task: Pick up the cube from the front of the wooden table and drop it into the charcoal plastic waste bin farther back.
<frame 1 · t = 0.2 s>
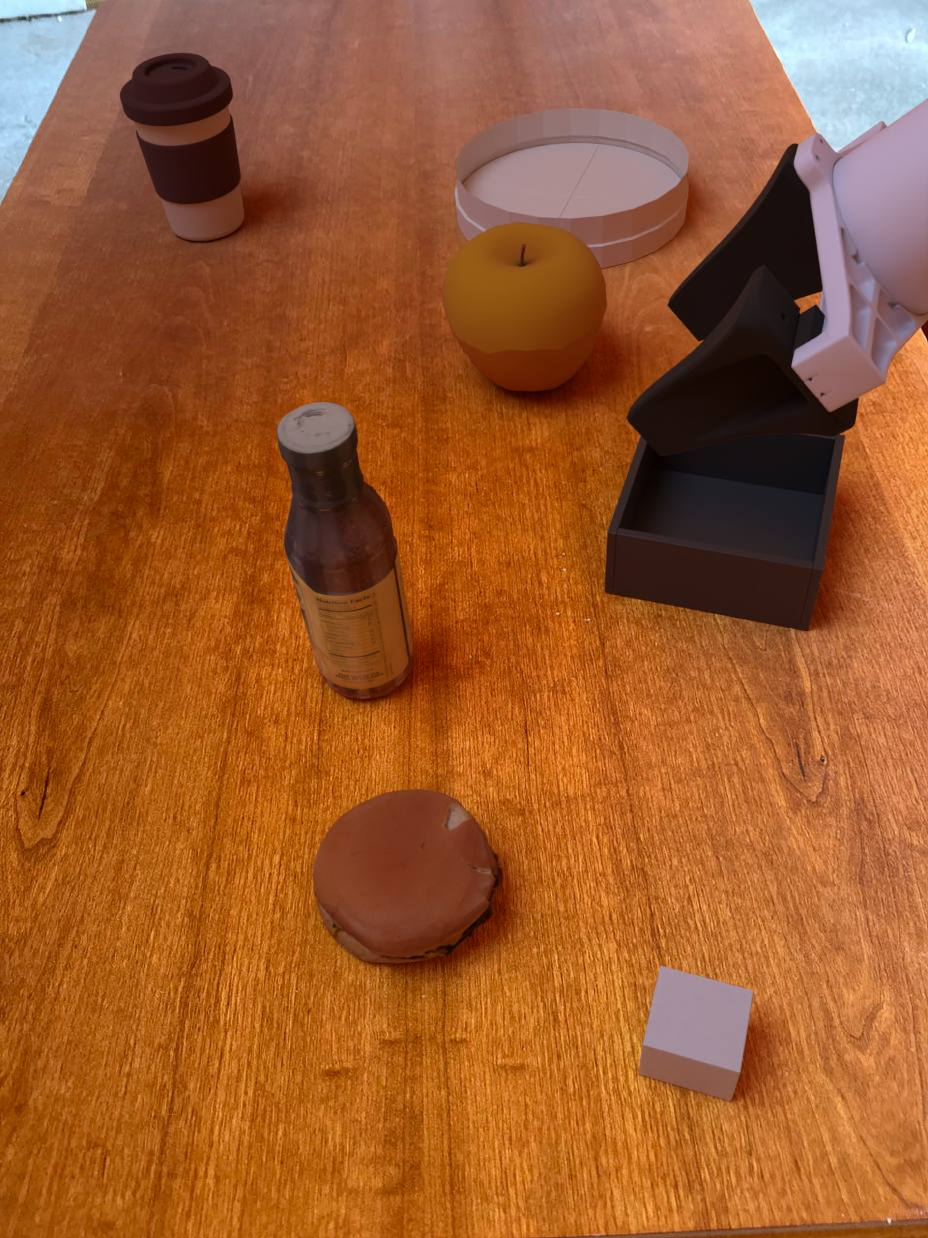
hand: (665, 372, 43), 29 cm above the table, tool tilted 45°, fingers open, 7 cm apart
cube: (692, 1048, 55), on the table
bin: (721, 542, 78), on the table
coffee cup: (208, 226, 112), on the table
sauce bottle: (367, 671, 72), on the table
apple: (525, 372, 93), on the table
dish: (570, 211, 110), on the table
chocolate glazed sandwich cookie: (410, 894, 62), on the table
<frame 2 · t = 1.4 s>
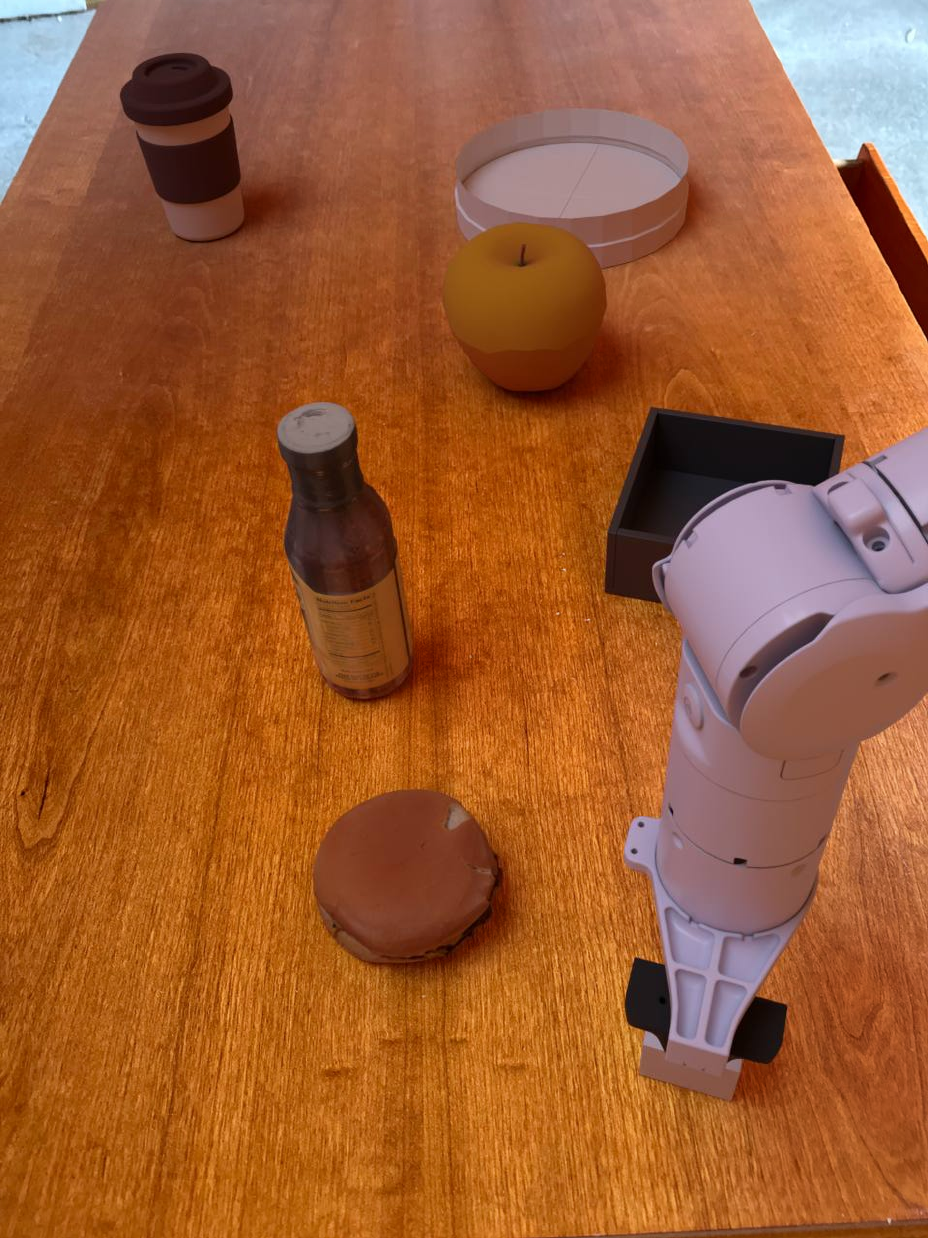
hand: (709, 971, 49), 8 cm above the table, tool pointing down, fingers open, 7 cm apart
nothing on the table moved.
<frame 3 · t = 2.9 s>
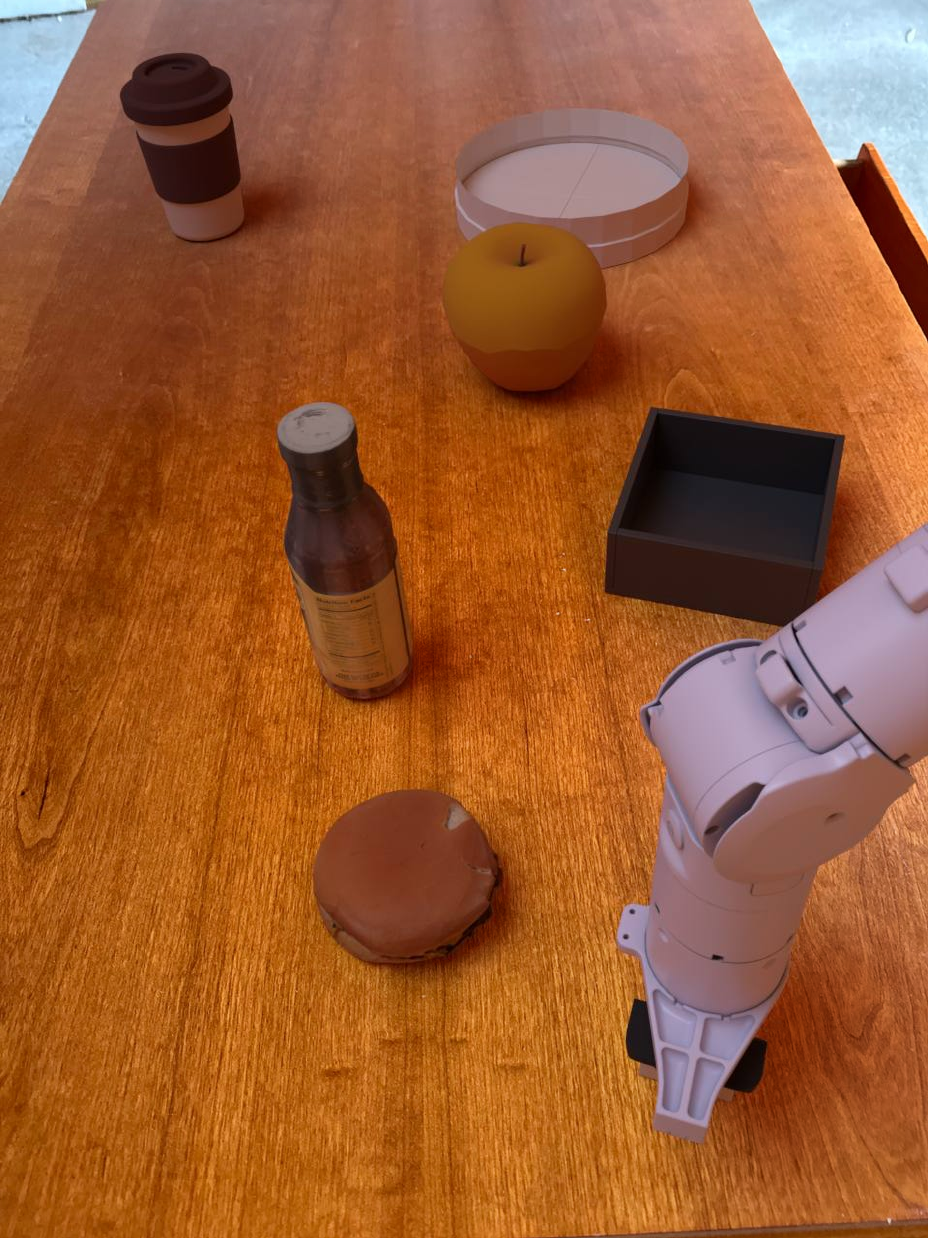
hand: (694, 1036, 54), 1 cm above the table, tool pointing down, fingers closed on cube, 4 cm apart
cube: (691, 1048, 55), on the table, touching gripper
everything else where it was.
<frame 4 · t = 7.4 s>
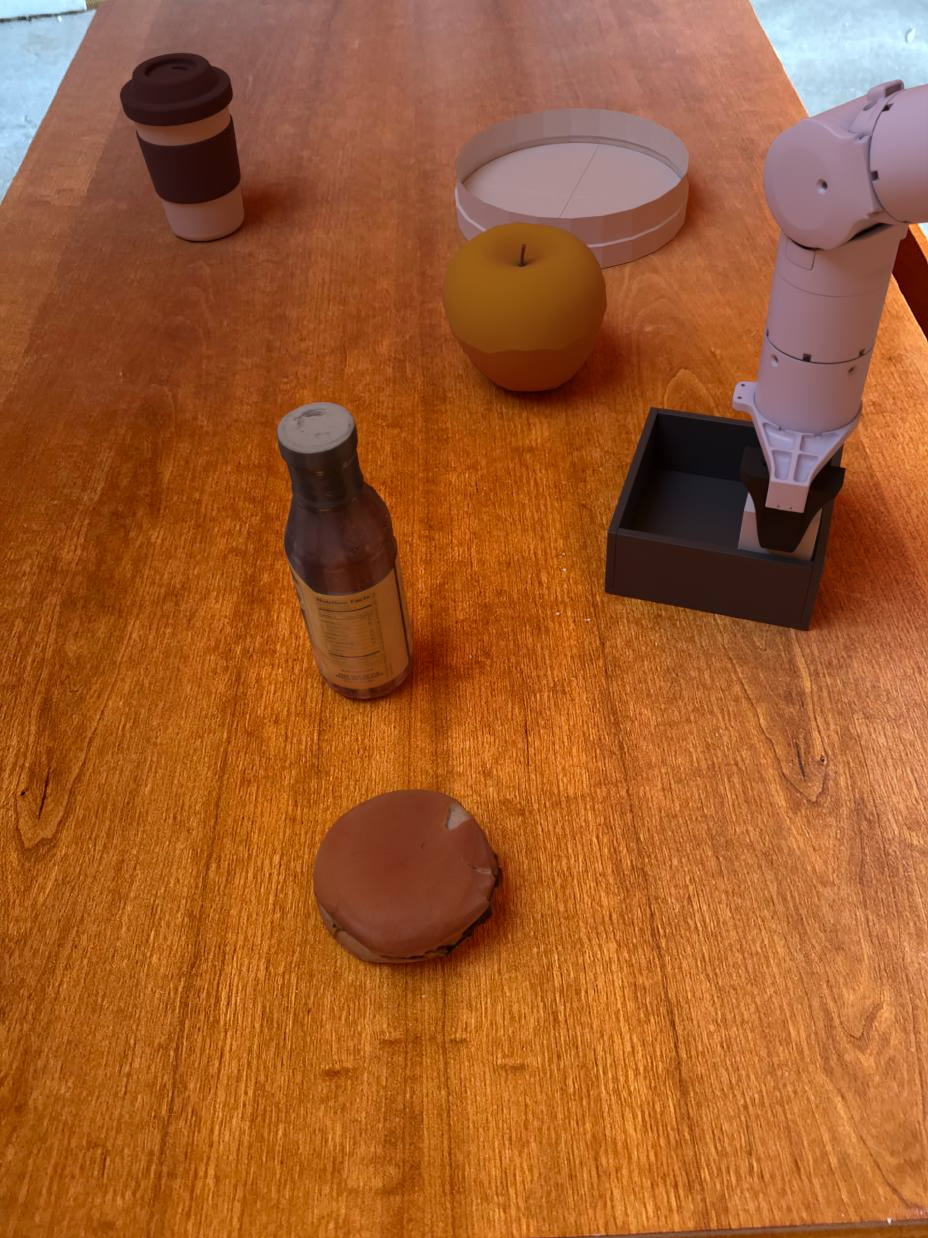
hand: (782, 521, 71), 6 cm above the table, tool pointing down, fingers closed on cube, 4 cm apart
cube: (777, 538, 72), point 5 cm above the table, touching gripper
everything else where it was.
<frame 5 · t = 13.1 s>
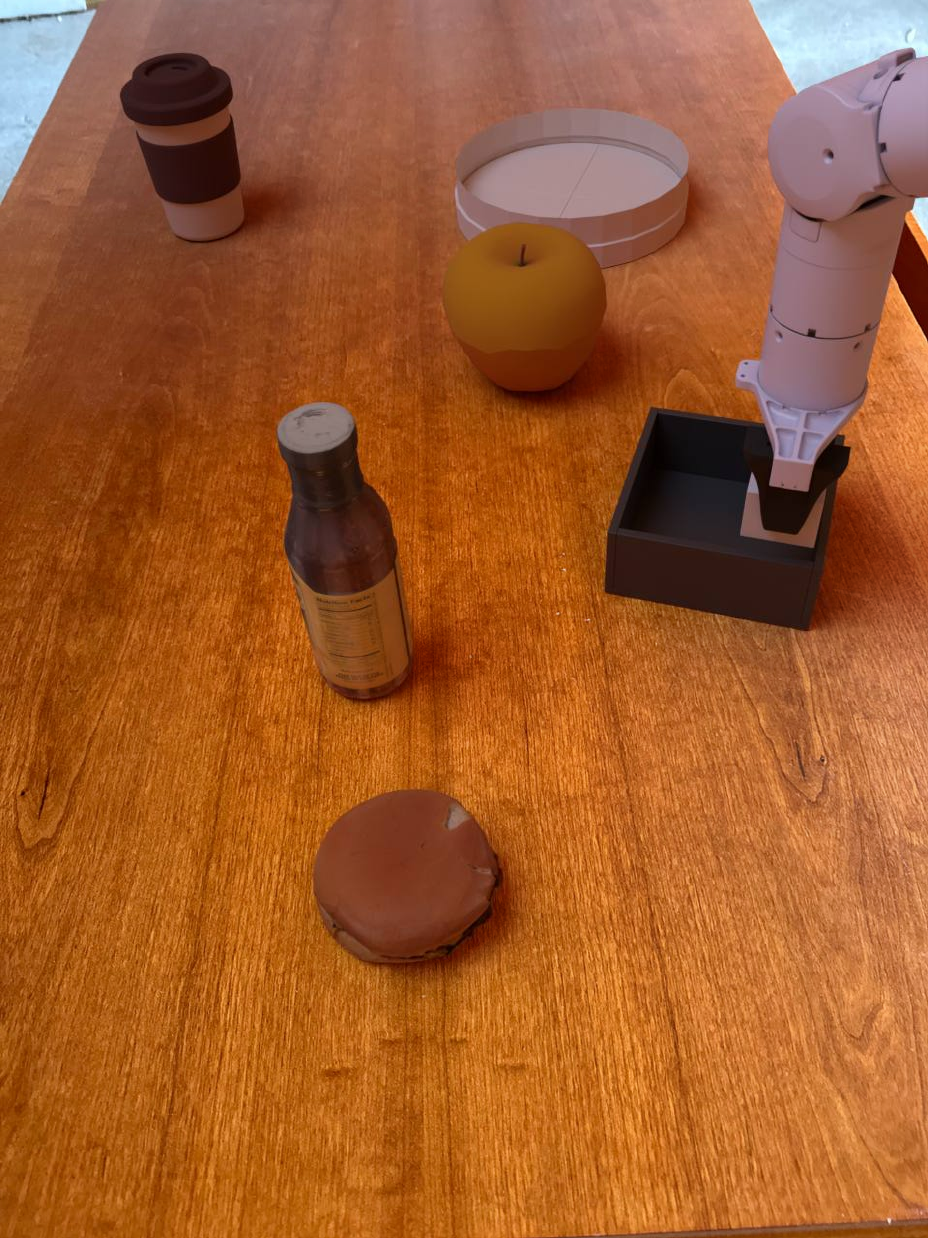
hand: (786, 503, 69), 7 cm above the table, tool pointing down, fingers closed on cube, 4 cm apart
cube: (780, 520, 71), point 6 cm above the table, touching gripper
everything else where it was.
when the fingers open (8 cm above the table, at t = 18.4 s): cube drops 6 cm, resting on bin.
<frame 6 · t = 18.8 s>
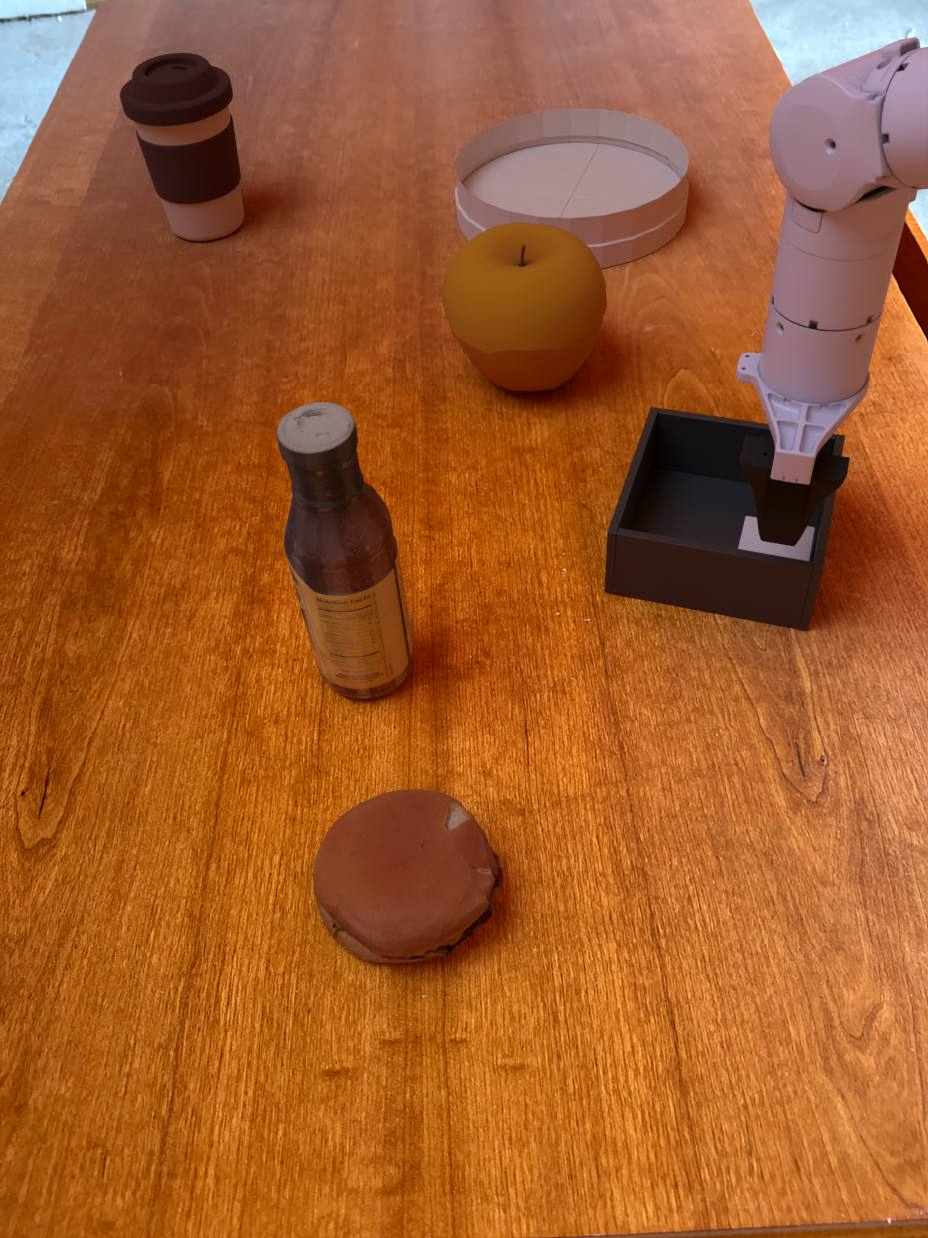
hand: (787, 497, 69), 8 cm above the table, tool pointing down, fingers open, 7 cm apart
cube: (768, 581, 75), resting on bin
everything else where it was.
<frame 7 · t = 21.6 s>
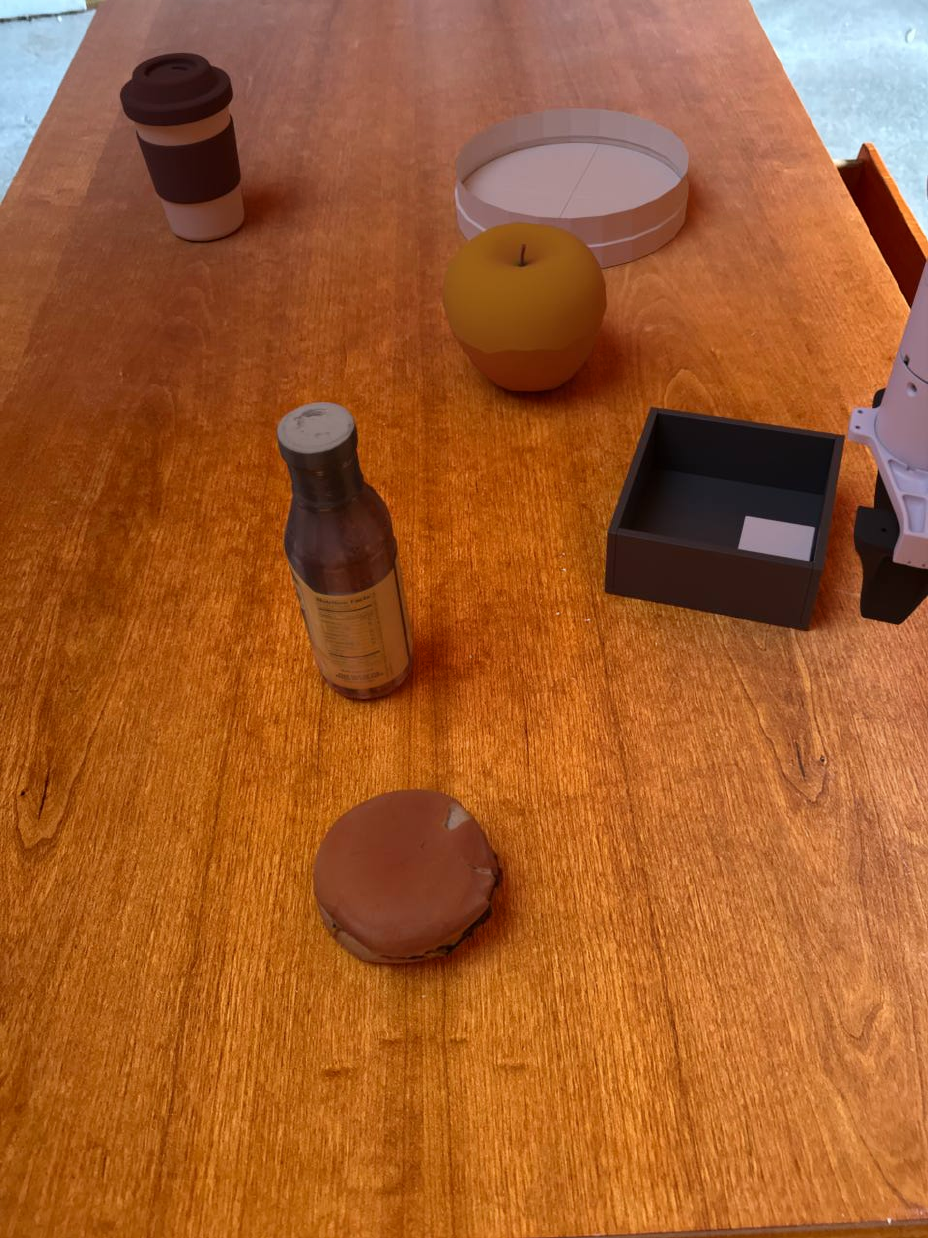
hand: (887, 564, 61), 10 cm above the table, tool pointing down, fingers open, 7 cm apart
nothing on the table moved.
at the end: cube inside the target area in the bin (5.0 cm from its centre), point 0.5 cm above the bin's base; the gripper is holding nothing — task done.
